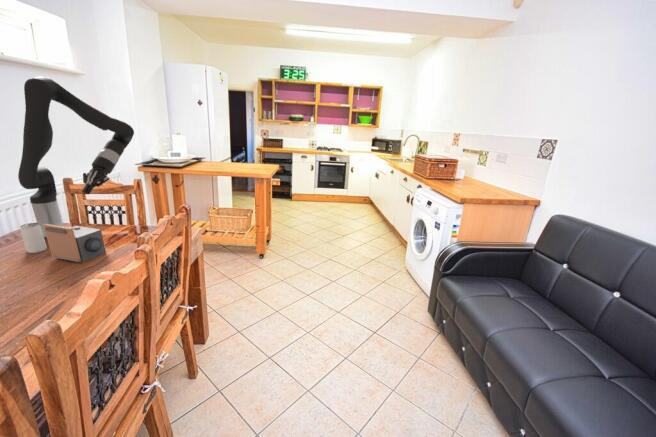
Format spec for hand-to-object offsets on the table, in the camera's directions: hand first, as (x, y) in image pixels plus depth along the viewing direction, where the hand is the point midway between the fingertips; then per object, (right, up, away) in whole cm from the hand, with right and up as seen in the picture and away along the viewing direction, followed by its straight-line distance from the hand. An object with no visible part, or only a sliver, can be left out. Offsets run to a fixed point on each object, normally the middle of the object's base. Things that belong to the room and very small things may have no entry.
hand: (85, 193), depth 127 cm
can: (-25, -25, +5) cm, 36 cm away
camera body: (-2, -27, +2) cm, 27 cm away
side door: (-4, -28, -4) cm, 29 cm away
